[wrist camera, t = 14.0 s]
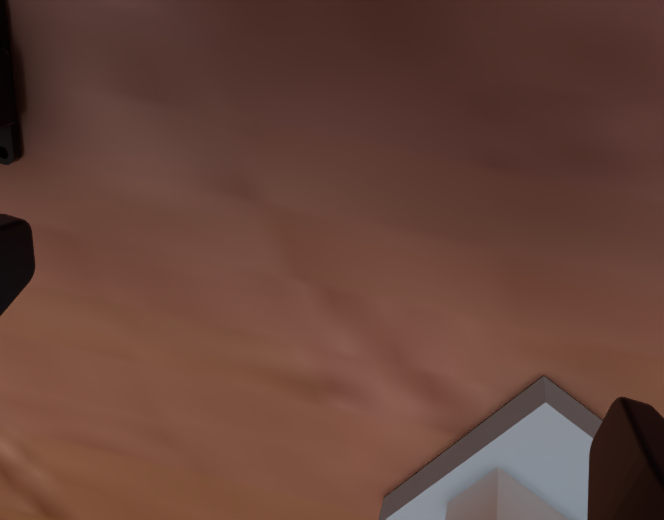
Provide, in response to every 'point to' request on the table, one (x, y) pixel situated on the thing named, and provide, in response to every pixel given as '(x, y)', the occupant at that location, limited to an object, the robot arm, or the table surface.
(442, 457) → the stand
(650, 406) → the robot arm
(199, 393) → the table surface
